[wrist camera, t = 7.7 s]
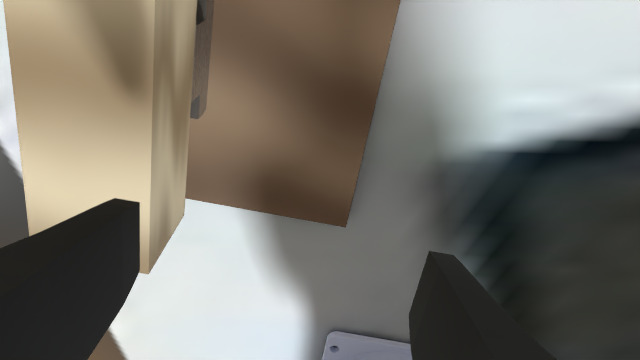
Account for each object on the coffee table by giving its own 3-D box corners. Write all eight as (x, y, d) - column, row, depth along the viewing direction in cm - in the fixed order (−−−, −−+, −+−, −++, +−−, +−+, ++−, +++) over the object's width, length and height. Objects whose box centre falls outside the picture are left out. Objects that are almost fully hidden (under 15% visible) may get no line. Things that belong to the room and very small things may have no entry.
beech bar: (184, 214, 20) (148, 274, 16) (88, 197, 20) (31, 253, 16) (206, -155, 14) (159, -189, 11) (71, -183, 14) (-23, -226, 10)
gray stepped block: (206, 110, 20) (189, 129, 18) (112, 92, 20) (84, 110, 18) (215, -14, 18) (197, -8, 16) (110, -34, 18) (78, -32, 16)
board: (345, 220, 23) (345, 227, 23) (119, 179, 23) (114, 185, 22) (424, -111, 17) (427, -113, 16) (116, -175, 17) (108, -179, 16)
